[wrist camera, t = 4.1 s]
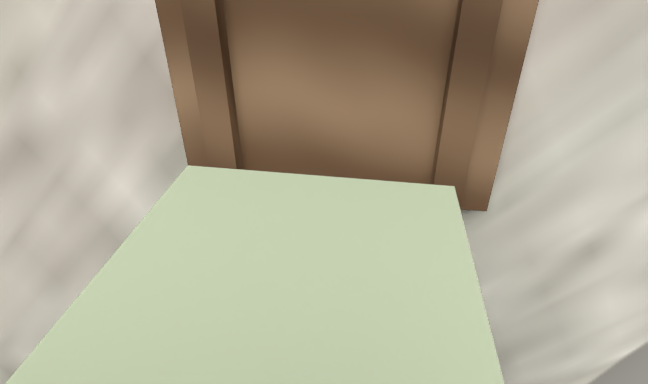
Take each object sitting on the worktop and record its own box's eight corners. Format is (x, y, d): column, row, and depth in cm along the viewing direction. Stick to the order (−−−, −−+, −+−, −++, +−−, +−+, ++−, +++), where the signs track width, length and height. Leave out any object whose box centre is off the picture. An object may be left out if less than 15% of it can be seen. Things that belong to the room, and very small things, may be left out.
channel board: (481, 196, 19) (499, 249, 16) (203, 178, 20) (169, 223, 17) (582, -238, 11) (656, -300, 8) (130, -219, 13) (48, -265, 10)
